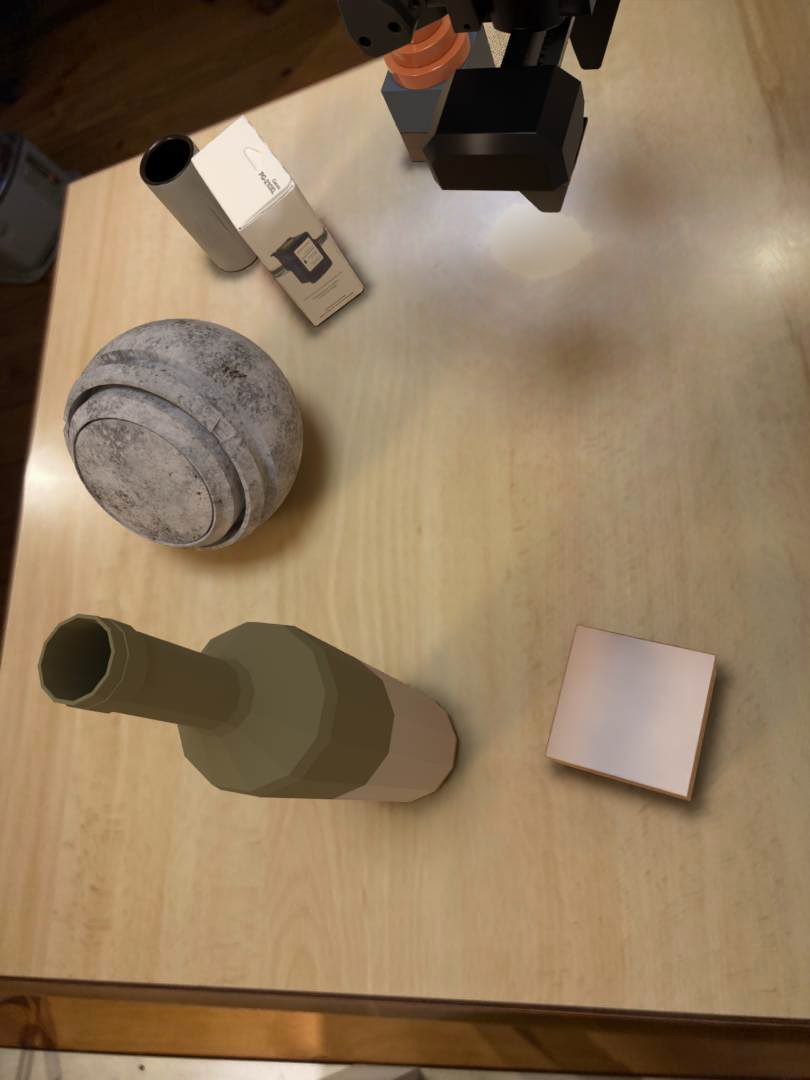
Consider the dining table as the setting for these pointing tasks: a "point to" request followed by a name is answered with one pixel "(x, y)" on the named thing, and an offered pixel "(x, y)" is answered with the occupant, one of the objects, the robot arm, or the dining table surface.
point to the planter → (193, 201)
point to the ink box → (276, 220)
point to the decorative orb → (185, 433)
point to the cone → (429, 56)
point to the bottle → (260, 708)
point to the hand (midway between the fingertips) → (571, 137)
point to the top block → (429, 90)
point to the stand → (633, 710)
